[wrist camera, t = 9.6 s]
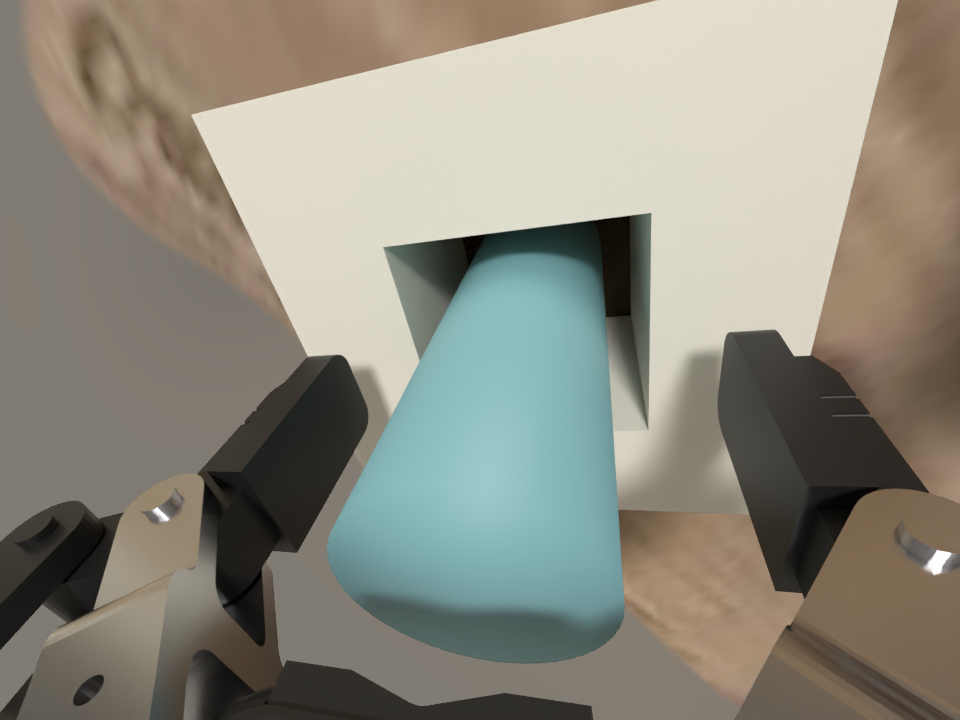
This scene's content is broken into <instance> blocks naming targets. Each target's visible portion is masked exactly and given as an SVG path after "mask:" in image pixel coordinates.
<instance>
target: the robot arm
mask: <svg viewBox="0 0 960 720" xmlns="http://www.w3.org/2000/svg"><path fill="white" fill-rule="evenodd" d="M855 395H856V394H855V393H854V392H853V390H852V389H851V388H850V386H849V385H848V384H847V382H846V381H845V380H844V378H843V377H842V376H841V374H840V373H839V372H837V371H836V370H834V369H833V368H831V367H829V366H828V365H826V364H825V363H823V362H821V361H820V360H818V359H817V358H815V357H814V356H812V355H811V356H794V355H793V354H792V352H791V351H790V349H789V348H788V346H787V344H786V343H785V341H784V340H783V338H782V337H781V335H780V334H779V332H778V331H776V330H757V331H740V332H729V333H727V335H726V338H725V342H724V349H723V358H722V366H721V374H720V383H719V391H718V418H719V424H720V428H721V432H722V434H723V437H724V440H725V443H726V446H727V449H728V452H729V455H730V458H731V461H732V464H733V467H734V470H735V473H736V476H737V479H738V482H739V485H740V488H741V491H742V493H743V496H744V499H745V502H746V505H747V508H748V511H749V514H750V517H751V520H752V523H753V526H754V529H755V532H756V535H757V538H758V541H759V544H760V547H761V550H762V552H763V555H764V558H765V561H766V564H767V567H768V570H769V573H770V576H771V579H772V582H773V585H774V588H775V591H783V592H796V593H802V594H803V596H804V599H805V600H804V602H803V604H802V606H801V607H800V609H799V611H798V613H797V615H796V617H795V618H794V620H793V622H792V623H791V625H790V626H789V625H788V626H786V628H785V629H784V630H783V632H782V634H781V635H780V637H779V639H778V640H777V642H776V644H775V645H774V647H773V649H772V651H771V653H770V655H769V656H768V658H767V660H766V662H765V664H764V666H763V668H762V669H761V671H760V673H759V675H758V677H757V679H756V680H755V682H754V684H753V686H752V688H751V690H750V692H749V693H748V695H747V697H746V699H745V701H744V703H743V704H742V706H741V708H740V710H739V712H738V714H737V716H736V717H735V719H734V720H960V504H958V503H955V502H953V501H951V500H948V499H946V498H943V497H940V496H937V495H934V494H930V493H929V492H928V490H927V489H926V488H925V486H924V485H923V484H922V482H921V481H920V480H919V478H918V477H917V476H916V474H915V473H914V472H913V470H912V469H911V468H910V466H909V465H908V464H907V462H906V461H905V460H904V458H903V457H902V456H901V454H900V453H899V452H898V450H897V449H896V448H895V446H894V445H893V444H892V442H891V441H890V440H889V438H888V437H887V436H886V434H885V433H884V432H883V430H882V429H881V428H880V426H879V425H878V424H877V422H876V421H875V420H874V418H870V416H869V412H868V410H867V409H866V408H865V406H864V405H863V404H862V402H861V401H860V400H859V399H856V397H855ZM367 425H368V408H367V405H366V402H365V400H364V398H363V395H362V393H361V391H360V388H359V386H358V384H357V381H356V379H355V377H354V374H353V372H352V370H351V367H350V365H349V363H348V361H347V359H346V358H345V357H344V356H342V355H323V356H310V357H308V358H306V359H305V360H304V361H303V362H302V363H301V365H300V366H299V367H298V368H297V369H296V370H295V371H294V373H293V374H292V375H291V376H290V377H289V378H288V379H287V380H286V382H284V383H283V384H282V385H280V386H279V387H277V388H276V389H274V390H273V391H272V392H270V394H269V395H268V396H267V397H266V398H265V399H264V400H263V401H262V402H261V404H260V405H259V406H258V407H257V411H254V412H252V414H251V415H250V416H249V417H248V418H247V419H246V420H245V424H244V425H241V426H240V427H239V428H238V429H237V430H236V432H235V433H234V434H233V435H232V436H231V437H230V438H229V439H228V441H227V442H226V443H225V444H224V445H223V446H222V447H221V448H220V449H219V450H218V452H217V453H216V454H215V455H214V456H213V457H212V458H211V459H210V461H209V462H208V463H207V464H206V465H205V466H204V467H203V468H202V469H201V471H200V472H199V473H198V474H193V473H191V474H190V473H188V474H187V473H186V474H180V475H177V476H173V477H171V478H168V479H166V480H164V481H162V482H160V483H158V484H156V485H154V486H153V487H151V488H150V489H148V490H147V491H145V492H144V493H143V494H141V495H140V496H139V497H138V498H137V499H136V500H135V501H134V502H133V503H132V504H131V505H130V506H129V507H128V508H127V509H126V511H125V512H124V513H120V514H116V515H112V516H108V517H104V518H100V519H98V518H97V517H96V516H95V515H94V514H93V513H92V512H91V511H90V510H89V509H88V508H87V507H86V506H85V505H84V504H83V503H82V502H79V501H68V502H64V503H61V504H57V505H55V506H52V507H50V508H48V509H46V510H44V511H42V512H40V513H38V514H36V515H35V516H33V517H32V518H30V519H28V520H27V521H25V522H24V523H23V524H21V525H20V526H18V527H17V528H16V529H15V530H14V531H12V532H11V533H10V534H9V535H8V536H6V537H5V538H4V539H3V540H2V541H1V542H0V650H1V648H2V647H3V646H4V645H5V644H6V643H7V642H8V641H9V640H10V639H11V638H12V636H13V635H14V634H15V633H16V632H17V631H18V630H19V629H20V628H21V627H22V626H23V624H24V623H25V622H26V621H27V620H28V619H29V618H30V617H31V616H32V615H33V614H34V612H35V611H36V610H37V609H38V608H39V607H40V606H41V605H42V604H43V605H44V606H45V607H47V608H48V609H49V610H51V611H52V612H54V613H55V614H56V615H58V616H59V617H61V618H62V619H63V620H64V621H66V622H67V623H66V624H64V625H62V626H60V627H59V628H57V629H56V630H54V632H52V634H51V635H50V636H49V638H48V639H47V640H46V642H45V644H44V647H43V649H42V652H41V654H40V657H39V660H38V663H37V665H36V668H35V671H34V673H33V674H32V675H31V676H30V677H29V679H28V680H27V681H26V682H25V684H24V685H23V686H22V687H21V688H20V689H19V691H18V692H17V693H16V694H15V696H14V697H13V698H12V699H11V700H10V702H9V703H8V704H7V705H6V706H5V708H4V709H3V710H2V711H1V712H0V720H593V714H592V709H591V708H592V707H591V706H586V705H581V704H574V703H567V702H561V701H554V700H547V699H541V698H533V697H527V696H521V695H513V694H507V693H503V694H497V695H491V696H485V697H479V698H473V699H466V700H460V701H454V702H447V703H441V704H435V705H429V706H417V705H414V704H411V703H409V702H408V701H406V700H404V699H402V698H400V697H399V696H397V695H395V694H393V693H391V692H390V691H388V690H386V689H384V688H383V687H380V686H379V685H377V684H375V683H374V682H372V681H370V680H368V679H366V678H365V677H363V676H361V675H359V674H358V673H356V672H354V671H352V670H347V669H340V668H334V667H328V666H321V665H314V664H308V663H301V662H294V661H288V660H287V661H286V664H285V666H284V667H283V666H282V663H281V661H280V656H279V650H278V638H277V626H276V613H275V600H274V588H273V574H272V569H271V567H270V565H269V564H268V562H267V561H266V560H267V559H268V557H269V556H270V553H271V552H272V551H281V552H295V553H296V552H298V550H299V548H300V546H301V545H302V543H303V541H304V539H305V538H306V536H307V534H308V532H309V530H310V529H311V527H312V525H313V523H314V522H315V520H316V518H317V516H318V515H319V513H320V511H321V509H322V508H323V506H324V504H325V502H326V500H327V499H328V497H329V495H330V493H331V491H332V490H333V488H334V486H335V484H336V482H337V481H338V479H339V477H340V476H341V474H342V472H343V470H344V469H345V467H346V465H347V463H348V461H349V460H350V458H351V456H352V454H353V453H354V451H355V449H356V447H357V446H358V444H359V442H360V440H361V439H362V437H363V435H364V433H365V431H366V429H367Z"/></svg>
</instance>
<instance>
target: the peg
mask: <svg viewBox="0 0 960 720" xmlns="http://www.w3.org/2000/svg"><path fill="white" fill-rule="evenodd" d="M327 553H328V561H329V563H330V566H331V569H332V571H333V573H334V575H335V577H336V579H337V580H338V582H339V583H340V584H341V586H342V587H343V589H344V590H345V591H346V592H347V593H348V594H349V595H350V596H351V598H352V599H353V600H354V601H356V602H357V603H358V604H359V605H360V606H361V607H362V608H363V609H365V610H366V611H367V612H369V613H370V614H371V615H373V616H374V617H376V618H377V619H379V620H380V621H382V622H383V623H385V624H387V625H388V626H390V627H392V628H394V629H395V630H397V631H399V632H401V633H403V634H405V635H407V636H409V637H411V638H414V639H416V640H418V641H421V642H423V643H426V644H428V645H431V646H434V647H437V648H440V649H443V650H446V651H449V652H453V653H456V654H460V655H464V656H469V657H473V658H478V659H483V660H490V661H498V662H507V663H547V662H557V661H562V660H567V659H572V658H575V657H578V656H582V655H585V654H587V653H589V652H592V651H594V650H596V649H598V648H599V647H601V646H602V645H604V644H606V642H608V641H609V640H610V639H611V638H612V637H613V636H614V635H615V634H616V632H617V631H618V629H619V628H620V626H621V623H622V620H623V617H624V608H625V606H624V590H623V575H622V560H621V544H620V529H619V513H618V498H617V482H616V467H615V451H614V436H613V420H612V405H611V389H610V374H609V359H608V343H607V328H606V312H605V297H604V281H603V266H602V250H601V240H600V236H599V232H598V229H597V227H596V225H595V223H594V221H593V220H592V221H584V222H576V223H568V224H560V225H553V226H545V227H537V228H529V229H521V230H514V231H506V232H498V233H490V234H486V235H485V237H484V239H483V241H482V243H481V245H480V247H479V249H478V251H477V252H476V254H475V256H474V258H473V260H472V262H471V264H470V266H469V268H468V270H467V272H466V274H465V275H464V277H463V279H462V281H461V283H460V285H459V287H458V289H457V291H456V293H455V295H454V297H453V299H452V300H451V302H450V304H449V306H448V308H447V310H446V312H445V314H444V316H443V318H442V320H441V322H440V324H439V325H438V327H437V329H436V331H435V333H434V335H433V337H432V339H431V341H430V343H429V345H428V347H427V349H426V350H425V352H424V354H423V356H422V358H421V360H420V362H419V364H418V366H417V368H416V370H415V372H414V374H413V375H412V377H411V379H410V381H409V383H408V385H407V387H406V389H405V391H404V393H403V395H402V397H401V399H400V400H399V402H398V404H397V406H396V408H395V410H394V412H393V414H392V416H391V418H390V420H389V422H388V424H387V425H386V427H385V429H384V431H383V433H382V435H381V437H380V439H379V441H378V443H377V445H376V447H375V448H374V450H373V452H372V454H371V456H370V458H369V460H368V462H367V464H366V466H365V468H364V470H363V472H362V473H361V475H360V477H359V479H358V481H357V483H356V485H355V487H354V489H353V491H352V493H351V495H350V497H349V498H348V500H347V502H346V504H345V506H344V508H343V510H342V512H341V514H340V516H339V518H338V520H337V522H336V523H335V526H334V527H333V529H332V531H331V534H330V537H329V539H328V546H327Z"/></svg>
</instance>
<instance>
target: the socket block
mask: <svg viewBox="0 0 960 720" xmlns="http://www.w3.org/2000/svg"><path fill="white" fill-rule="evenodd" d="M897 2H898V0H657V1H653V2H649V3H645V4H641V5H637V6H632V7H628V8H624V9H620V10H616V11H612V12H608V13H604V14H600V15H596V16H592V17H588V18H584V19H580V20H575V21H571V22H567V23H563V24H559V25H555V26H551V27H547V28H543V29H539V30H535V31H531V32H527V33H522V34H518V35H514V36H510V37H506V38H502V39H498V40H494V41H490V42H486V43H482V44H478V45H474V46H470V47H465V48H461V49H457V50H453V51H449V52H445V53H441V54H437V55H433V56H429V57H425V58H421V59H417V60H413V61H408V62H404V63H400V64H396V65H392V66H388V67H384V68H380V69H376V70H372V71H368V72H364V73H360V74H355V75H351V76H347V77H343V78H339V79H335V80H331V81H327V82H323V83H319V84H315V85H311V86H307V87H303V88H298V89H294V90H290V91H286V92H282V93H278V94H274V95H270V96H266V97H262V98H258V99H254V100H250V101H245V102H241V103H237V104H233V105H229V106H225V107H221V108H217V109H213V110H209V111H205V112H201V113H197V114H193V115H192V117H193V119H194V121H195V123H196V126H197V128H198V130H199V132H200V134H201V136H202V138H203V140H204V142H205V144H206V146H207V148H208V150H209V152H210V155H211V157H212V159H213V161H214V163H215V165H216V167H217V169H218V171H219V173H220V175H221V177H222V179H223V181H224V184H225V186H226V188H227V190H228V192H229V194H230V196H231V198H232V200H233V202H234V204H235V206H236V208H237V210H238V213H239V215H240V217H241V219H242V221H243V223H244V225H245V227H246V229H247V231H248V233H249V235H250V237H251V239H252V242H253V244H254V246H255V248H256V250H257V252H258V254H259V256H260V258H261V260H262V262H263V264H264V266H265V268H266V271H267V273H268V275H269V277H270V279H271V281H272V283H273V285H274V287H275V289H276V291H277V293H278V295H279V297H280V300H281V302H282V304H283V306H284V308H285V310H286V312H287V314H288V316H289V318H290V320H291V322H292V324H293V326H294V329H295V331H296V333H297V335H298V337H299V339H300V341H301V343H302V345H303V347H304V349H305V351H306V353H307V355H308V357H310V356H323V355H342V356H344V357H345V358H346V359H347V361H348V363H349V365H350V367H351V370H352V372H353V374H354V377H355V379H356V381H357V384H358V386H359V388H360V391H361V393H362V395H363V398H364V400H365V402H366V405H367V408H368V425H367V429H366V431H365V433H364V435H363V437H362V439H361V440H360V442H359V444H358V446H357V447H356V449H355V451H354V453H355V455H356V457H357V459H358V461H359V463H360V465H361V467H362V469H363V470H364V468H365V466H366V464H367V462H368V460H369V458H370V456H371V454H372V452H373V450H374V448H375V447H376V445H377V443H378V441H379V439H380V437H381V435H382V433H383V431H384V429H385V427H386V425H387V424H388V422H389V420H390V418H391V416H392V414H393V412H394V410H395V408H396V406H397V404H398V402H399V400H400V399H401V397H402V395H403V393H404V391H405V389H406V387H407V385H408V383H409V381H410V379H411V377H412V375H413V374H414V372H415V370H416V368H417V366H418V364H419V362H420V360H421V358H422V356H423V354H424V352H425V350H426V349H427V347H428V345H429V343H430V341H431V339H432V337H433V335H434V333H435V331H436V329H437V327H438V325H439V324H440V322H441V320H442V318H443V316H444V314H445V312H446V310H447V308H448V306H449V304H450V302H451V300H452V299H453V297H454V295H455V293H456V291H457V289H458V287H459V285H460V283H461V281H462V279H463V277H464V275H465V274H466V272H467V270H468V268H469V266H468V261H467V257H466V252H465V248H464V243H463V239H462V237H467V236H475V235H483V234H490V233H498V232H506V231H514V230H521V229H529V228H537V227H545V226H553V225H560V224H568V223H576V222H584V221H592V220H599V219H607V218H615V217H623V216H630V294H631V315H630V316H616V317H606V328H607V343H608V359H609V374H610V389H611V405H612V420H613V436H614V451H615V467H616V482H617V498H618V510H643V511H670V512H697V513H724V514H749V511H748V508H747V505H746V502H745V499H744V496H743V493H742V491H741V488H740V485H739V482H738V479H737V476H736V473H735V470H734V467H733V464H732V461H731V458H730V455H729V452H728V449H727V446H726V443H725V440H724V437H723V434H722V432H721V428H720V424H719V418H718V391H719V383H720V374H721V366H722V358H723V349H724V342H725V338H726V335H727V333H729V332H740V331H757V330H776V331H778V332H779V334H780V335H781V337H782V338H783V340H784V341H785V343H786V344H787V346H788V348H789V349H790V351H791V352H792V354H793V355H794V356H810V354H811V350H812V346H813V342H814V338H815V334H816V330H817V326H818V322H819V318H820V314H821V310H822V306H823V302H824V298H825V294H826V290H827V286H828V282H829V278H830V274H831V269H832V265H833V261H834V257H835V253H836V249H837V245H838V241H839V237H840V233H841V229H842V225H843V221H844V217H845V213H846V209H847V205H848V201H849V197H850V193H851V188H852V184H853V180H854V176H855V172H856V168H857V164H858V160H859V156H860V152H861V148H862V144H863V140H864V136H865V132H866V128H867V124H868V120H869V116H870V112H871V108H872V103H873V99H874V95H875V91H876V87H877V83H878V79H879V75H880V71H881V67H882V63H883V59H884V55H885V51H886V47H887V43H888V39H889V35H890V31H891V27H892V22H893V18H894V14H895V10H896V6H897Z"/></svg>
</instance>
